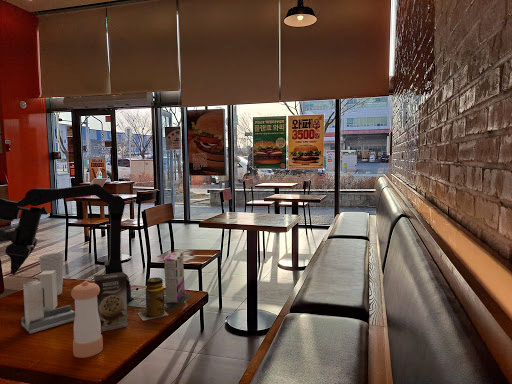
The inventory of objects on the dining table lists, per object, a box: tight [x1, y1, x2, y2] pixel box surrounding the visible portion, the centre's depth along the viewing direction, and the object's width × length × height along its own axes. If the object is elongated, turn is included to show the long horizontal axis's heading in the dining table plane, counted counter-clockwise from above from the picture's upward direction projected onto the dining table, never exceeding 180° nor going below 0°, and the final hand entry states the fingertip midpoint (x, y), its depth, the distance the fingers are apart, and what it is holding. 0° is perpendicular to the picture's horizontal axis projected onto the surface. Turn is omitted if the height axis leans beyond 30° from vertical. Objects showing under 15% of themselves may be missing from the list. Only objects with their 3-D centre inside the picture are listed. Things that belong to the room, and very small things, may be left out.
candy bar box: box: [163, 251, 186, 304], centre depth 135 cm, size 11×5×16 cm, turn 179°
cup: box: [38, 252, 65, 296], centre depth 142 cm, size 8×8×16 cm
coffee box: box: [93, 271, 128, 332], centre depth 112 cm, size 9×6×16 cm
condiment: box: [137, 277, 169, 321], centre depth 120 cm, size 7×8×12 cm
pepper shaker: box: [70, 280, 104, 359], centre depth 96 cm, size 7×7×19 cm
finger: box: [37, 270, 58, 312], centre depth 127 cm, size 5×4×13 cm
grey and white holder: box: [21, 279, 75, 335], centre depth 115 cm, size 14×9×14 cm, turn 137°
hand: (15, 270), depth 119 cm, fingers open, 9 cm apart
